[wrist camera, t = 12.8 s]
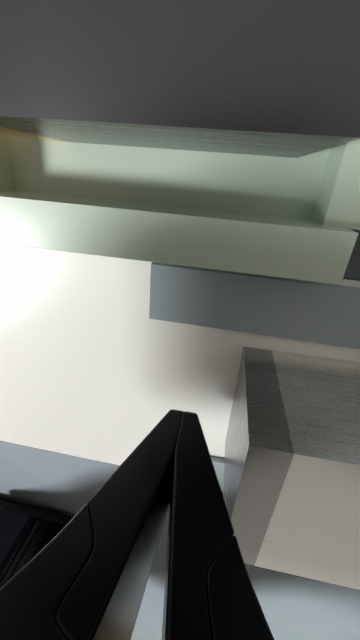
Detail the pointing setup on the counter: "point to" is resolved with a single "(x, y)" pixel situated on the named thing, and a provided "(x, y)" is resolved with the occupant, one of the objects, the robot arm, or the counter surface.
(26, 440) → the long white tray
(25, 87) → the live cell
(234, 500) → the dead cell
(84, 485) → the counter surface
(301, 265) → the pale green square tray
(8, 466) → the counter surface
